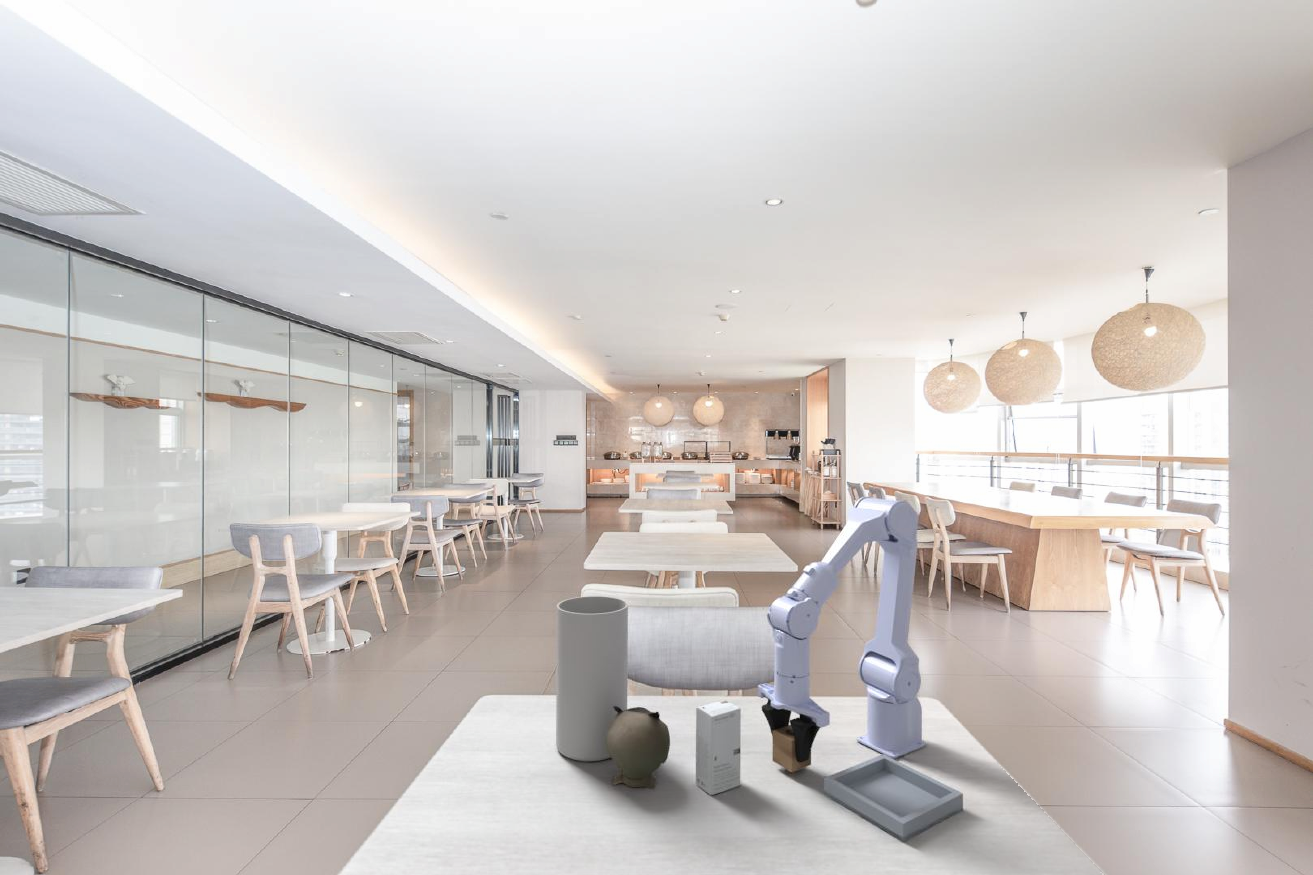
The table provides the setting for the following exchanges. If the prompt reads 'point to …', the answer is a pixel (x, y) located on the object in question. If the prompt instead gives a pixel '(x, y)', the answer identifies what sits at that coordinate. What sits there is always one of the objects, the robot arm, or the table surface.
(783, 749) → the walnut block
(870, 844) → the table surface
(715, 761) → the skincare box
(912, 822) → the slate tray
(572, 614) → the cylinder vase
